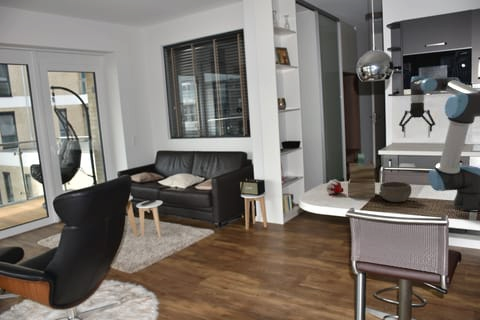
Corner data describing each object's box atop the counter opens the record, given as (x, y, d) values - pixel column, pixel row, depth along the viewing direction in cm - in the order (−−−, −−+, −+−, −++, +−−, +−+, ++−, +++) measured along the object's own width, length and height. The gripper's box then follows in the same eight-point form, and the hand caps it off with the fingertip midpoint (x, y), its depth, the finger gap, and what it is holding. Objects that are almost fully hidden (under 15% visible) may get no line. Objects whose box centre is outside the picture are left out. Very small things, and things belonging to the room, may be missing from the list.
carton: (374, 197, 245) (374, 183, 244) (347, 196, 250) (347, 183, 249) (375, 192, 258) (375, 179, 257) (349, 191, 263) (349, 178, 262)
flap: (373, 158, 240) (374, 154, 243) (348, 158, 246) (348, 154, 248) (374, 181, 255) (374, 176, 258) (350, 180, 261) (350, 176, 263)
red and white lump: (332, 189, 270) (348, 196, 257) (320, 192, 264) (336, 198, 251) (333, 177, 267) (350, 183, 255) (321, 179, 262) (337, 185, 249)
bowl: (375, 201, 236) (375, 185, 234) (386, 195, 249) (386, 180, 248) (405, 205, 225) (405, 188, 223) (414, 199, 238) (415, 183, 237)
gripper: (439, 101, 238) (438, 136, 241) (395, 103, 246) (394, 136, 249) (441, 101, 231) (439, 137, 234) (395, 103, 239) (394, 137, 242)
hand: (416, 137), depth 241 cm, fingers open, 13 cm apart
